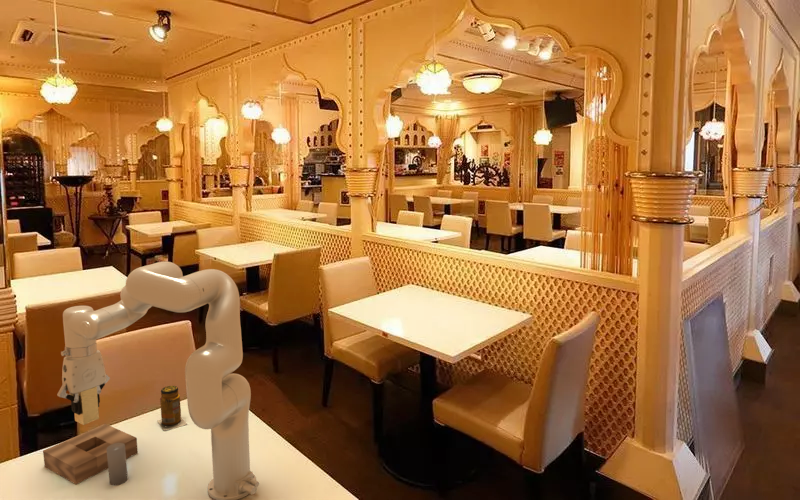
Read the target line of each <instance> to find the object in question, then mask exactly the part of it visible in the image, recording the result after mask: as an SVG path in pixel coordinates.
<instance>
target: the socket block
mask: <svg viewBox="0 0 800 500" xmlns="http://www.w3.org/2000/svg"><path fill="white" fill-rule="evenodd" d="M137 440H138V439H137V437H136V436H133V435H131V434H129V433H127V432H125V431H122V430H120V429H118V428H115V427H113V426H111V425H109V424H106V423H104V424H101V425H99V426H96V427H94V428H93V429H92V428H91V429H90V430H87V431H85V432H83V433H80V434H78V435H76V436H74V437H71V438H69V439H67V440H64V441H62V442H60V443H57V444H55V445H53V446H51V447H48V448H46V449H44V450H43V451H42V455H43V463H44V468H46V469H49V470H50V471H51V470H52V471H51V472H53V473H55V474H56V475H59V476H60V477H62V478H64V479H66V480H68V481H69V482H71V483H73V484H74V485H78V484H80V483H82V482H84V481H86V480H88V479H89V478H92V477H94V476H96V475H98V474H99V473H101V472H104V471H106V470H108V460H107V447H108V446H110V445H112V444H115V443H124V444H125V453H126V460H127V459H129V458H131V457H133V456H134V455H136V454H138V450H139V449H138V441H137Z"/></svg>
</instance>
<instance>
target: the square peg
mask: <svg viewBox="0 0 800 500" xmlns="http://www.w3.org/2000/svg"><path fill="white" fill-rule="evenodd" d="M79 401H80V402H81V414H80V415H78V414H76V413H74V412H73V413H74V421H75V422H77V423H79V424H81V425H83V426H85V425H88V424H89V423H92V422H95V421H97V420H100V414H99V407H98V398H97V387H94V388H91V389H88V390H85V391H83V392H80V394H79Z"/></svg>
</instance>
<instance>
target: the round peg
mask: <svg viewBox="0 0 800 500" xmlns="http://www.w3.org/2000/svg"><path fill="white" fill-rule="evenodd" d="M107 460H108V468H107V470H108V481H109V485H111V486H120V485H122V484H124V483H126V482H127V481H128V479H129V477H128V465H127V459H126V453H125V444H124V443H115V444H112V445H110V446H108V447H107Z"/></svg>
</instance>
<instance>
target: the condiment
mask: <svg viewBox="0 0 800 500" xmlns="http://www.w3.org/2000/svg"><path fill="white" fill-rule="evenodd" d="M159 403H160V416H161V417H160V418H161V419H158V420H157V421H156V422H157V424H158V425H159V426H160V428H161V429H162V430H163V431H168V430H169V431H170V430H173V429H176V428H179V427H183V426H185V425H187V422H186V421H185V420H184V418H183V417H182V410H181V409H182V407H181V395H180V394H179V388H178V386H176V385H167V386H165V387H164V386H163V388H161V390H160V399H159Z"/></svg>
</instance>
